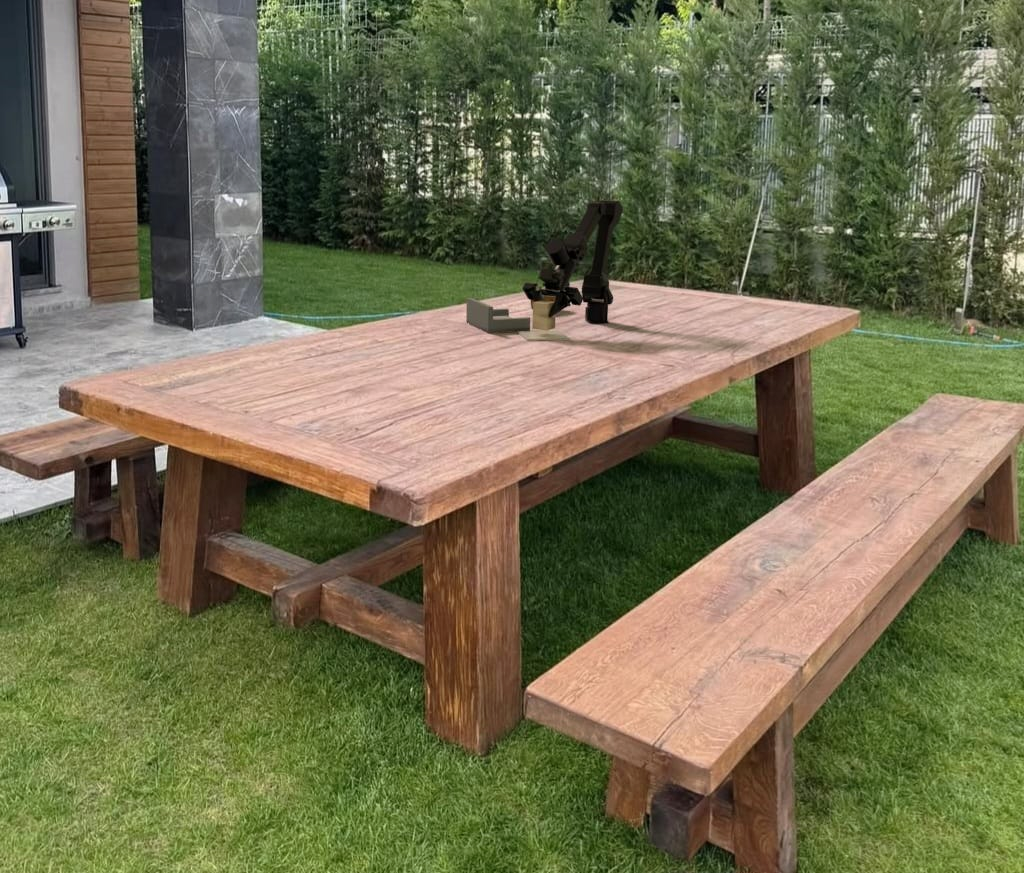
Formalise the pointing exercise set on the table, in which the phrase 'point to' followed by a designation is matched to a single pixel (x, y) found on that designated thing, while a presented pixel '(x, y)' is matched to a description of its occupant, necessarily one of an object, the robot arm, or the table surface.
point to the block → (543, 315)
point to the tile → (543, 335)
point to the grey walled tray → (493, 318)
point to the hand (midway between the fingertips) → (541, 315)
